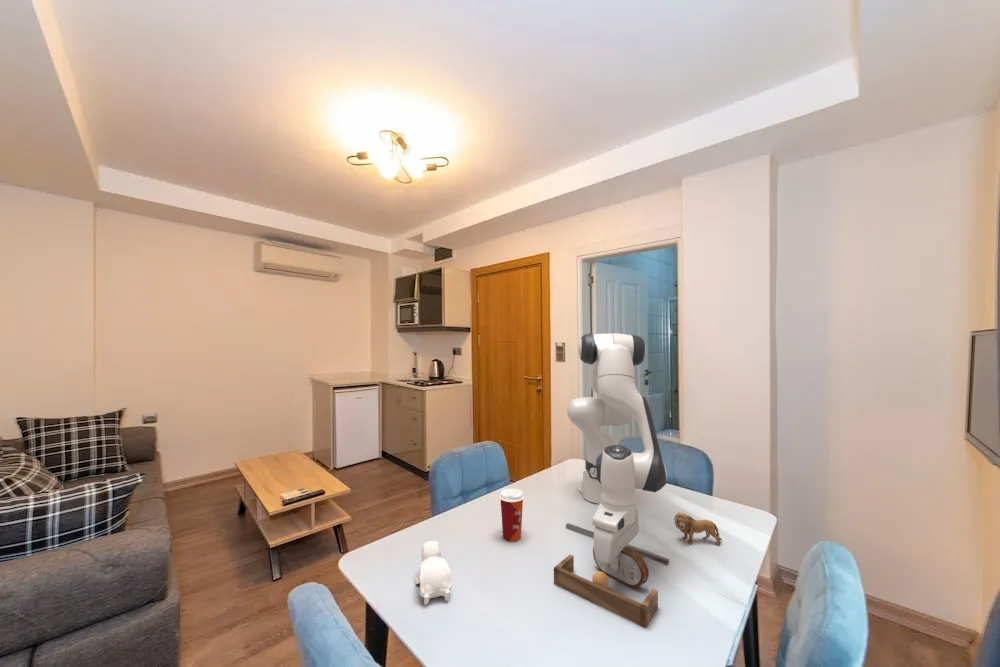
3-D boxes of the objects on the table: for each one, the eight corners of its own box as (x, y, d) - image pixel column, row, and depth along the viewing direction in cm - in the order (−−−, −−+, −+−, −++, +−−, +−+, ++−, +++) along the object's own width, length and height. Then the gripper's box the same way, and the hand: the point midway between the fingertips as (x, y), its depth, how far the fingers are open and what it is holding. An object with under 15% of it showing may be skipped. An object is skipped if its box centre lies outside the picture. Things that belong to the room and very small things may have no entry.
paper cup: (522, 545, 116) (522, 498, 117) (497, 542, 118) (497, 496, 118) (525, 532, 124) (525, 488, 124) (502, 529, 126) (502, 486, 126)
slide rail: (567, 526, 128) (567, 522, 128) (668, 563, 107) (668, 558, 107) (565, 528, 127) (565, 524, 127) (667, 565, 106) (667, 560, 106)
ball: (587, 574, 96) (592, 593, 95) (602, 572, 95) (607, 591, 93) (593, 570, 100) (598, 588, 98) (607, 568, 98) (613, 586, 96)
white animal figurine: (453, 608, 94) (444, 554, 107) (456, 583, 91) (446, 531, 104) (418, 616, 91) (412, 560, 105) (419, 590, 88) (413, 536, 102)
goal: (569, 569, 104) (569, 554, 104) (657, 607, 89) (657, 590, 89) (553, 583, 98) (553, 567, 98) (645, 627, 83) (645, 609, 83)
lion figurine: (679, 547, 115) (679, 517, 115) (670, 538, 120) (670, 509, 120) (727, 545, 116) (726, 515, 116) (716, 536, 121) (715, 507, 121)
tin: (648, 590, 95) (649, 555, 96) (642, 595, 93) (643, 559, 94) (597, 563, 107) (598, 532, 107) (590, 567, 105) (591, 535, 105)
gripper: (622, 495, 111) (623, 543, 110) (588, 520, 95) (589, 577, 95) (644, 501, 106) (645, 551, 106) (613, 529, 91) (613, 588, 91)
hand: (618, 564), depth 100 cm, fingers closed on tin, 3 cm apart
